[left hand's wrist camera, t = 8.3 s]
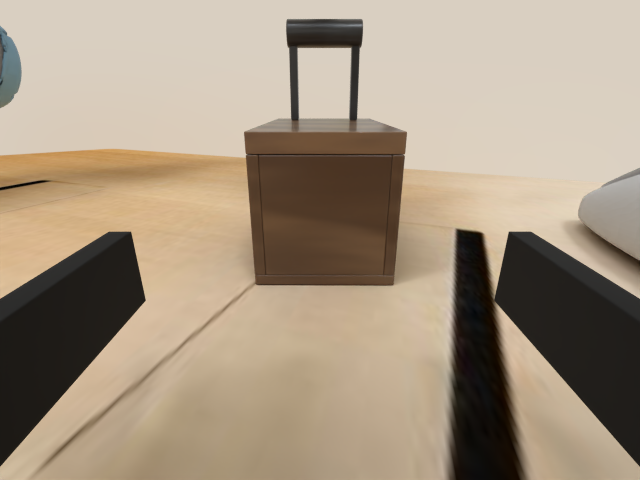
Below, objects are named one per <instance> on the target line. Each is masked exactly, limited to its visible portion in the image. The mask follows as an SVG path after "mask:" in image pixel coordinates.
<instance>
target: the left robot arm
mask: <svg viewBox="0 0 640 480" xmlns="http://www.w3.org/2000/svg"><path fill="white" fill-rule="evenodd" d="M145 301H146V300H145V295H144V290H143V286H142V281H141V276H140V272H139V267H138V262H137V257H136V253H135V248H134V243H133V239H132V234H131V232H108V233H106V234H105V235H103V236H101V237H100V238H98V239H96V240H95V241H93V242H92V243H90V244H88V245H87V246H85V247H84V248H82V249H80V250H79V251H77V252H75V253H74V254H72V255H71V256H69V257H67V258H66V259H64V260H62V261H61V262H59V263H58V264H56V265H54V266H53V267H51V268H50V269H48V270H46V271H45V272H43V273H41V274H40V275H38V276H37V277H35V278H33V279H32V280H30V281H28V282H27V283H25V284H24V285H22V286H20V287H19V288H17V289H16V290H14V291H12V292H11V293H9V294H7V295H6V296H4V297H3V298H1V299H0V466H1V465H2V464H3V463H4V462H5V461H6V459H7V458H8V457H9V456H10V455H11V454H12V453H13V451H14V450H15V449H16V448H17V447H18V446H19V445H20V443H21V442H22V441H23V440H24V439H25V438H26V437H27V435H28V434H29V433H30V432H31V431H32V430H33V429H34V427H35V426H36V425H37V424H38V423H39V422H40V421H41V419H42V418H43V417H44V416H45V415H46V414H47V413H48V411H49V410H50V409H51V408H52V407H53V406H54V405H55V403H56V402H57V401H58V400H59V399H60V398H61V397H62V395H63V394H64V393H65V392H66V391H67V390H68V389H69V387H70V386H71V385H72V384H73V383H74V382H75V381H76V379H77V378H78V377H79V376H80V375H81V374H82V373H83V371H84V370H85V369H86V368H87V367H88V366H89V365H90V363H91V362H92V361H93V360H94V359H95V358H96V357H97V355H98V354H99V353H100V352H101V351H102V350H103V349H104V347H105V346H106V345H107V344H108V343H109V342H110V341H111V340H112V338H113V337H114V336H115V335H116V334H117V333H118V332H119V330H120V329H121V328H122V327H123V326H124V325H125V324H126V322H127V321H128V320H129V319H130V318H131V317H132V316H133V314H134V313H135V312H136V311H137V310H138V309H139V308H140V306H141V305H142V304H143V303H144V302H145ZM494 301H495V302H496V303H497V304H498V305H499V306H500V308H501V309H502V310H503V311H504V312H505V313H506V314H507V316H508V317H509V318H510V319H511V320H512V321H513V322H514V324H515V325H516V326H517V327H518V328H519V329H520V330H521V332H522V333H523V334H524V335H525V336H526V337H527V338H528V340H529V341H530V342H531V343H532V344H533V345H534V346H535V347H536V349H537V350H538V351H539V352H540V353H541V354H542V355H543V357H544V358H545V359H546V360H547V361H548V362H549V363H550V365H551V366H552V367H553V368H554V369H555V370H556V371H557V373H558V374H559V375H560V376H561V377H562V378H563V379H564V381H565V382H566V383H567V384H568V385H569V386H570V387H571V389H572V390H573V391H574V392H575V393H576V394H577V395H578V397H579V398H580V399H581V400H582V401H583V402H584V403H585V405H586V406H587V407H588V408H589V409H590V410H591V411H592V413H593V414H594V415H595V416H596V417H597V418H598V419H599V421H600V422H601V423H602V424H603V425H604V426H605V427H606V429H607V430H608V431H609V432H610V433H611V434H612V435H613V437H614V438H615V439H616V440H617V441H618V442H619V443H620V445H621V446H622V447H623V448H624V449H625V450H626V451H627V453H628V454H629V455H630V456H631V457H632V458H633V459H634V461H635V462H636V463H637V464H638V465H639V466H640V299H639V298H637V297H636V296H634V295H633V294H631V293H629V292H628V291H626V290H624V289H623V288H621V287H620V286H618V285H616V284H615V283H613V282H612V281H610V280H608V279H607V278H605V277H603V276H602V275H600V274H599V273H597V272H595V271H594V270H592V269H590V268H589V267H587V266H586V265H584V264H582V263H581V262H579V261H578V260H576V259H574V258H573V257H571V256H569V255H568V254H566V253H565V252H563V251H561V250H560V249H558V248H556V247H555V246H553V245H552V244H550V243H548V242H547V241H545V240H544V239H542V238H540V237H539V236H537V235H535V234H534V233H532V232H509V234H508V239H507V243H506V248H505V253H504V257H503V262H502V267H501V272H500V276H499V281H498V286H497V290H496V295H495V300H494Z"/></svg>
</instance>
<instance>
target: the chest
mask: <svg viewBox="0 0 640 480" xmlns="http://www.w3.org/2000/svg"><path fill="white" fill-rule="evenodd" d="M404 159H405V156H404V155H403V154H247V155H246V163H247V176H248V189H249V202H250V215H251V228H252V241H253V254H254V268H255V280H256V284H340V285H393V283H394V272H395V261H396V250H397V238H398V227H399V215H400V204H401V193H402V181H403V170H404Z"/></svg>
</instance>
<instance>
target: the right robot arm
mask: <svg viewBox="0 0 640 480" xmlns="http://www.w3.org/2000/svg"><path fill="white" fill-rule="evenodd" d="M20 82H21V62H20V57H19V54H18V51H17V48H16V46H15V44H14V42H13V40H12V39H11V38H10V37H8V36H7V32H6V31H5V30H4V29H3V28H2V27H1V26H0V108H1V107H4V106H5V105H7V104H8V103H10V102H11V100H12V99H13V98H14V94H16V93H17V92H18V89H19V86H20Z"/></svg>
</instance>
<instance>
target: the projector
mask: <svg viewBox="0 0 640 480" xmlns="http://www.w3.org/2000/svg"><path fill="white" fill-rule="evenodd" d="M578 217H579V219H580V220H581V221H582V222H583V223H584V224H585V225H586V226H587V227H589V228H590V229H591V230H592V231H594V232H595V233H596V234H598V235H599V236H601V237H602V238H603V239H605V240H606V241H608V242H610V243H611V244H613V245H614V246H616V247H617V248H619V249H621V250H622V251H624V252H626V253H627V254H629V255H631V256H632V257H634V258H636V259H638V260H640V168H638V169H636V170H634V171H632V172H629V173H627V174H625V175H623V176H620V177H618V178H616V179H614V180H612V181H610V182H607V183H606V184H604V185H603V186H602V187H601V188H599V189H597V190H595V191H593V192H591V193H589V194H587V195H586V196H585V197H584V198H583V199H582V201H581V203H580V206H579V210H578Z"/></svg>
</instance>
